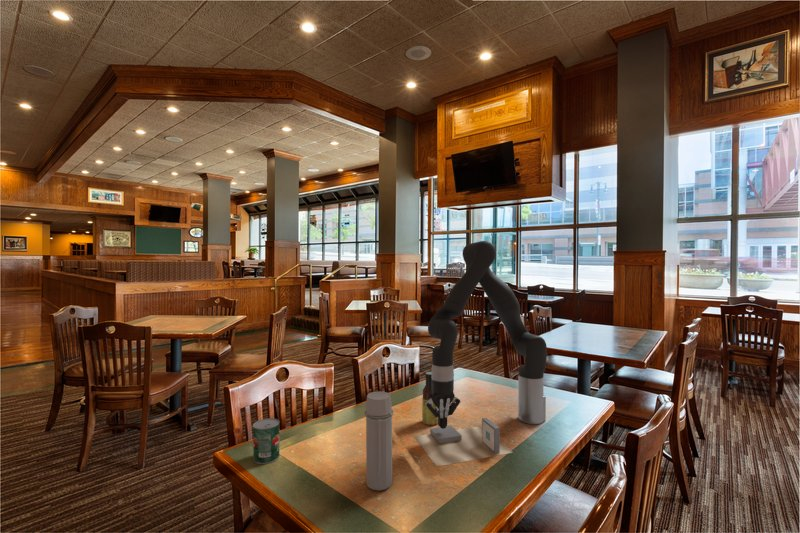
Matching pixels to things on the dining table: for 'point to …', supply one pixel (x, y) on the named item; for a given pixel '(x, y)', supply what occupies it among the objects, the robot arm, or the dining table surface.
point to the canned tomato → (266, 441)
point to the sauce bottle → (427, 391)
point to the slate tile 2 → (491, 435)
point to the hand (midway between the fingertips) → (442, 427)
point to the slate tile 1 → (445, 434)
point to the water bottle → (379, 440)
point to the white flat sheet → (458, 447)
